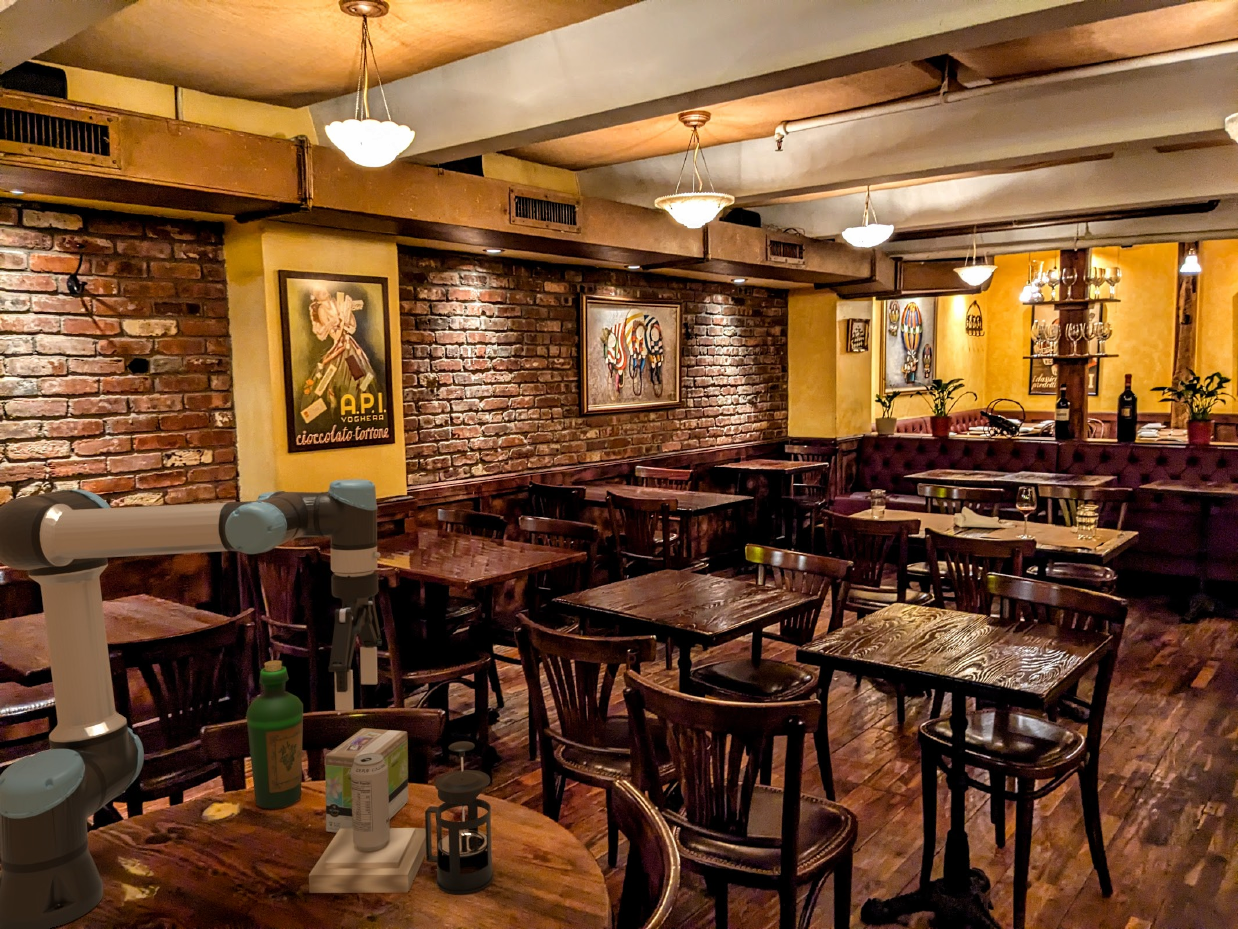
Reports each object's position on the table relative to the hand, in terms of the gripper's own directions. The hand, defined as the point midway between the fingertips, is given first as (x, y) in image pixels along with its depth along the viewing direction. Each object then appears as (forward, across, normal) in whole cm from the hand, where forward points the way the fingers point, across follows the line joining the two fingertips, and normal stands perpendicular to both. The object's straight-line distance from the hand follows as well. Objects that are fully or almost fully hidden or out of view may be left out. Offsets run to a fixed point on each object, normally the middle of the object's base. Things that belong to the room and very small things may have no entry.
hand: (357, 696), depth 156 cm
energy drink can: (+26, -1, -2) cm, 26 cm away
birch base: (+29, -1, -2) cm, 29 cm away
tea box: (+30, +18, +4) cm, 35 cm away
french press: (+29, -5, -18) cm, 35 cm away
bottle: (+30, +24, +24) cm, 45 cm away
